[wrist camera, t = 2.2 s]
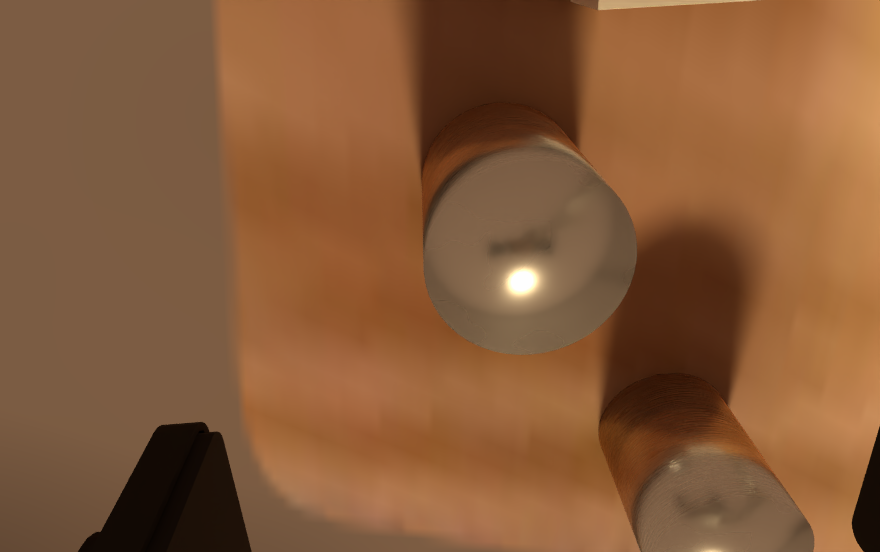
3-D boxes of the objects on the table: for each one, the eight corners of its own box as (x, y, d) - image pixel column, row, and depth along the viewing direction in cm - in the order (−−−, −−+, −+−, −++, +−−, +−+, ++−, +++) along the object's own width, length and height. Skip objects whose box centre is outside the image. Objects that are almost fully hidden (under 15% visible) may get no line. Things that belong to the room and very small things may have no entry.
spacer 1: (580, 97, 19) (646, 153, 13) (574, 247, 21) (628, 348, 16) (416, 107, 19) (416, 167, 13) (427, 257, 21) (430, 360, 16)
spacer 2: (734, 369, 23) (830, 492, 18) (716, 470, 25) (796, 608, 20) (602, 377, 23) (657, 504, 18) (595, 478, 25) (643, 618, 20)
